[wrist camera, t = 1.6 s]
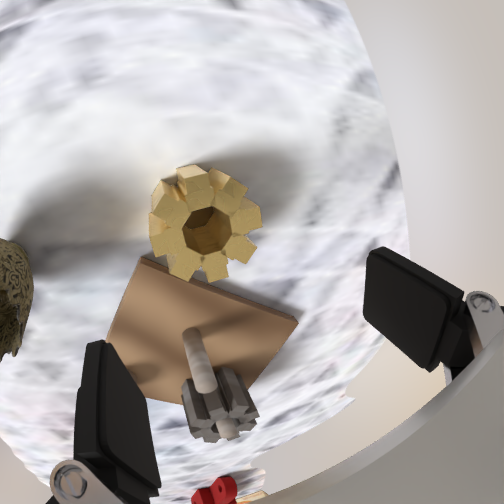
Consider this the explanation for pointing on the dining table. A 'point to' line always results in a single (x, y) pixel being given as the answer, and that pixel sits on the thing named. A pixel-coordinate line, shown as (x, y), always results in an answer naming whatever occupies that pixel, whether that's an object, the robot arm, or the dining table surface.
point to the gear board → (185, 309)
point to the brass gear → (210, 235)
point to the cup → (14, 296)
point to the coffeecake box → (251, 497)
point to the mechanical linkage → (217, 492)
